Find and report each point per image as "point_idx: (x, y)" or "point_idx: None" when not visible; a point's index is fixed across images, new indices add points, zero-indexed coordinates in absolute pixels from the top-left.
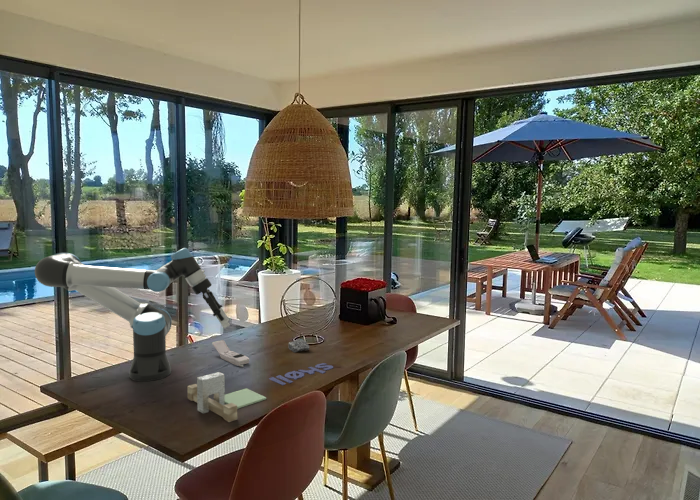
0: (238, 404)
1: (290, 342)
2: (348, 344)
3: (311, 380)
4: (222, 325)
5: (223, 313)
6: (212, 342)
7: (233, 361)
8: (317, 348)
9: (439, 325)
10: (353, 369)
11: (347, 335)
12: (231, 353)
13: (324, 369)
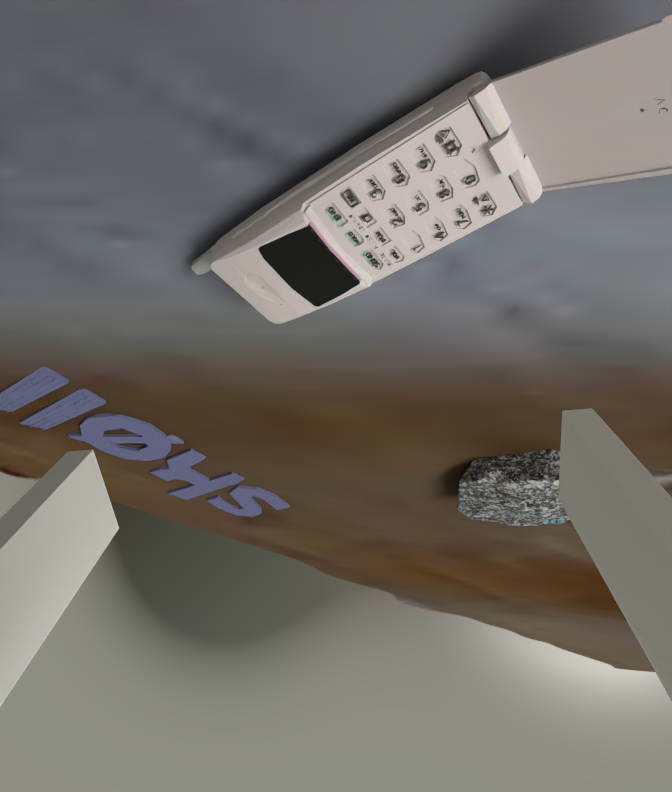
0: None
1: (556, 486)
2: (517, 563)
3: None
4: (41, 484)
5: (618, 582)
6: None
7: (257, 217)
8: None
9: (611, 659)
10: (228, 537)
11: None
12: (437, 206)
13: (210, 500)
